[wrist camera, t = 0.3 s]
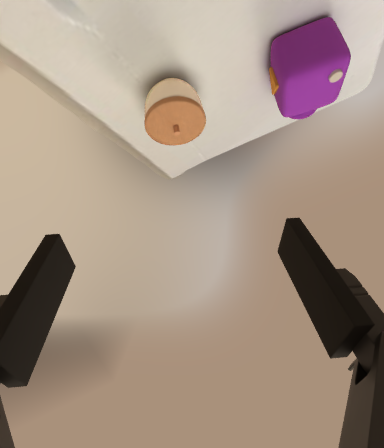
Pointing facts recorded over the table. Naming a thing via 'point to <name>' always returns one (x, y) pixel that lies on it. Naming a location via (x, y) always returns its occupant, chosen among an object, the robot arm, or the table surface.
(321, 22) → the toy camera
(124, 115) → the table surface
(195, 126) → the trinket box
